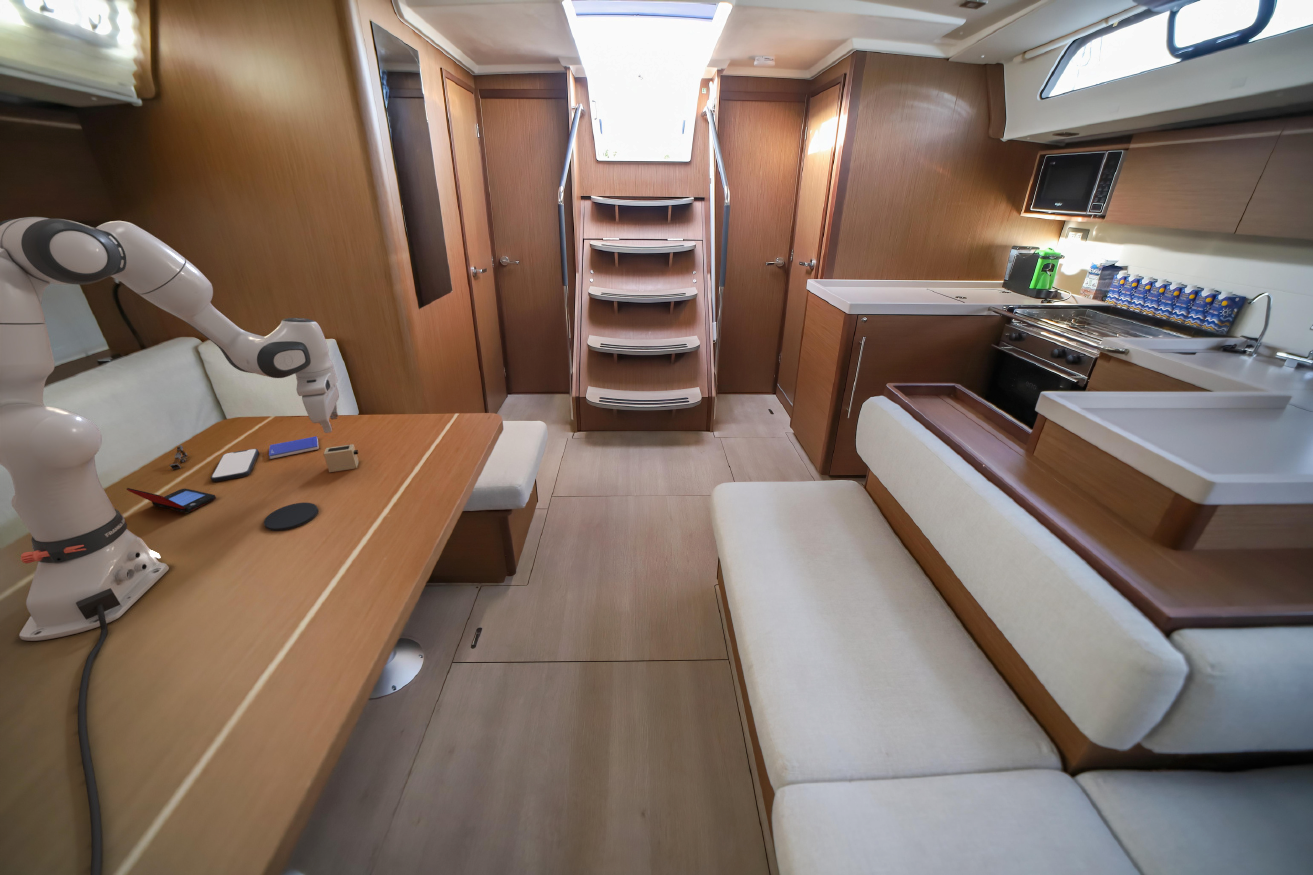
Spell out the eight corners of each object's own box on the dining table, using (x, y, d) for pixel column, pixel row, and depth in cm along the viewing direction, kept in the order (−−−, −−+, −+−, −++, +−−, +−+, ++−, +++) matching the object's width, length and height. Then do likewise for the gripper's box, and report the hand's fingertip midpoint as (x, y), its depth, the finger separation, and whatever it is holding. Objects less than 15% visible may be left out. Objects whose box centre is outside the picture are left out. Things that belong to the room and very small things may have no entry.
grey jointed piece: (191, 452, 151) (182, 443, 147) (185, 473, 146) (177, 463, 143) (183, 453, 150) (175, 444, 147) (177, 474, 146) (169, 465, 142)
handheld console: (219, 498, 130) (208, 474, 127) (172, 522, 121) (159, 496, 118) (185, 490, 133) (173, 466, 130) (137, 512, 124) (123, 487, 121)
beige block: (360, 467, 145) (355, 449, 143) (329, 472, 143) (323, 453, 140) (362, 461, 149) (356, 443, 146) (331, 466, 146) (326, 447, 144)
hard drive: (268, 455, 149) (317, 445, 155) (269, 444, 155) (316, 435, 161) (270, 459, 149) (318, 449, 155) (271, 449, 155) (317, 439, 162)
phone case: (250, 476, 141) (260, 452, 153) (248, 471, 140) (258, 447, 153) (211, 484, 137) (224, 458, 150) (208, 479, 136) (222, 453, 149)
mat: (313, 525, 120) (312, 522, 120) (258, 535, 117) (257, 532, 116) (322, 501, 129) (321, 499, 129) (271, 510, 126) (270, 507, 125)
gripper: (311, 367, 141) (325, 412, 147) (294, 392, 124) (311, 441, 130) (337, 365, 143) (350, 409, 150) (323, 389, 126) (338, 438, 133)
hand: (331, 424), depth 140 cm, fingers open, 8 cm apart
